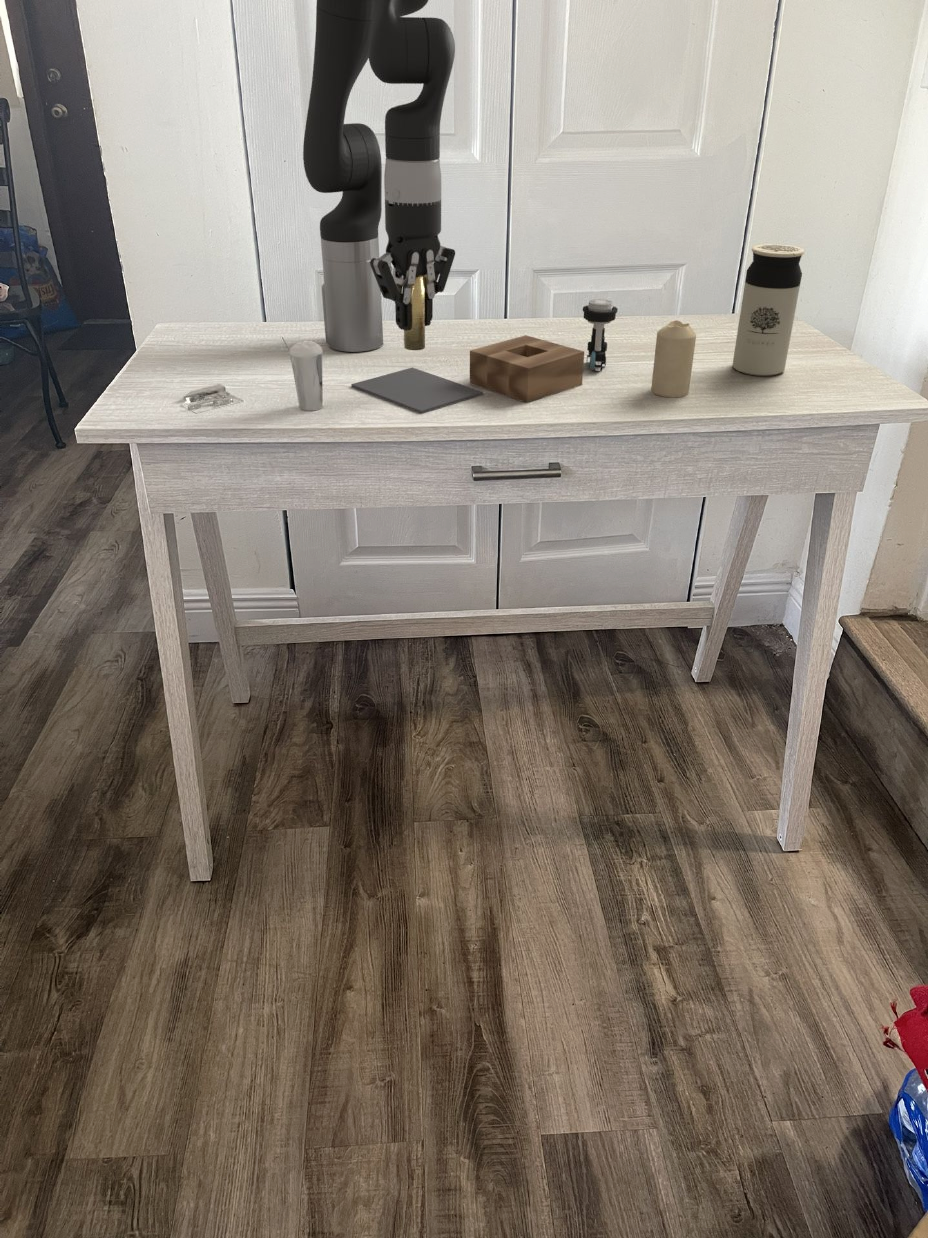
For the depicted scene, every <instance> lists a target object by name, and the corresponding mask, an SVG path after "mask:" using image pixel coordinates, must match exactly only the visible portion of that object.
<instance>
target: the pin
mask: <svg viewBox="0 0 928 1238" xmlns="http://www.w3.org/2000/svg"><path fill="white" fill-rule="evenodd" d="M402 277H403V278H404V279H406V277H405V276H402ZM409 303H410V304H411V330H407V331H405V330H403V348H404V349H405V350H408V351H422V350H424V349H425V348H426V326H425V275H417V276H415V284H414V286H413V287H412V289H411V298H410V302H409Z"/></svg>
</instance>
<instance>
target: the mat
mask: <svg viewBox="0 0 928 1238" xmlns="http://www.w3.org/2000/svg"><path fill="white" fill-rule="evenodd" d="M351 388H354V389H356V390H358V391H362V392H364V393H366V394H369V395H372V396H375V397H377V398H380V399H382V400H384V401H388V402H389V403H393V404H395V405H398V406H401V407H402V408H403V407H404V408H405V409H409V410H411V411H414V412H416V413H419V414H421V415H422V414H424V413H428V412H432V411H434V410H438V409H441V408H444V407H447V406H450V405H454V404H456V403H459V402H463V401H467V400H470V399H474V398H476V397H479V396H482V395H484V391H483V390H479V389H476V388H473V387H471V386H468V385H465V384H462V383H460V382H459V383H458V382H456V381H453V380H450V379H447V378H445V377H442V376H438V375H436V374H433V373H429V372H427V371H424V370H421V369H418V368H415V367H409V368H405V369H402V370H397V371H395V372H391V373H387V374H383V375H380V376H375V377H373V378H369V379H366V380H360V381H358V382H355V383H354V382H353V383H351Z"/></svg>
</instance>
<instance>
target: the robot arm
mask: <svg viewBox="0 0 928 1238" xmlns="http://www.w3.org/2000/svg"><path fill="white" fill-rule="evenodd" d="M428 2H429V0H316V6H315V7H316V9H315V10H316V11H315V13H316V14H315V38H314V54H313V56H314V57H313V67H312V68H313V69H312V75H311V76H312V77H311V78H312V79H311V87H310V94H309V100H308V108H307V113H306V121H305V126H304V127H305V130H304V136H303V146H302V147H303V148H302V150H303V152H302V159H303V167H304V168H303V169H304V173H305V176H306V178H307V179H306V180H307V182H308V184H310V186H311V187H312V189H314V191H316V192H319V193H323V194H331V193H342V195H341V199H340V201H339V203H338V204H337V205H336V206H335V207H334V208H333V209H332V210H331V211H330V212H328V213H326V214H325V215H323V217H321V219H320V222H319V236H320V244H321V245H320V246H321V258H322V260H321V261H322V273H323V284H322V285H321V294H322V295H321V296H322V297H321V298H322V310H323V321H324V322H323V323H324V324H323V325H324V334H325V336H324V337H325V343H328V346H329V347H330V348H331V349H333V350H335V351H339V352H340V351H341V352H349V353H350V352H351V353H352V352H353V353H356V352H357V353H358V352H366V351H373V350H376V349H379V348H381V347H382V346H383V344H384V332H383V330H384V329H383V308H382V304H383V303H382V297H383V298H384V299H387V300H390V301H393V302H394V304H395V306H394V307H395V308H394V309H395V323H396V324H395V325H396V326H398V328H399V329H400V330H402V331H404V330H405V331H407V330H411V304H410V303H409V302H410V298H411V289H412V287H413V286H414V284H415V276H417V275H425V327H428V326H430V325H431V323H432V322H431V321H432V320H433V317H434V316H433V313H434V312H433V309H434V308H433V307H434V306H433V304H434V302H433V301H434V298H435V295H437V294H438V293H443V292H444V290H445V288H446V285H447V281H448V278H449V275H450V272H451V268H452V266H453V263H454V260H455V256H456V250H455V249H454V248H449V247H446V246H442V245H441V242H440V239H439V235H440V233H441V232H442V170H441V163H440V162H441V160H440V157H441V156H440V154H441V153H440V150H441V143H440V142H441V141H440V140H441V136H440V133H441V131H440V130H441V121H442V120H441V119H442V112H443V107H444V101H445V97H446V93H447V88H448V85H449V81H450V77H451V74H452V70H453V65H454V61H455V56H456V55H455V54H456V43H455V38H454V34H453V31H452V30H451V27H450V25H449V24H448V23H447V22H446V21H445V20H444V19H442V18H439V17H418V16H417V17H412V16H411V17H409V16H408V15H412V14H414V13H416V12H418V11H421V10H422V9H423V8H424V7H425V6H426V5H427V4H428ZM368 61H369V65H370V69H371V70H372V72H373V74H374V76H375V77H377V79H378V80H380V81H381V82H382V83H384V84H393V85H394V84H395V85H397V84H398V85H402V84H404V85H405V84H408V85H410V84H413V85H416V84H417V85H419V84H420V85H421V84H423V85H422V89H421V91H420V94H419V95H418V97H416V99H414V100H413V101H411V102H407V103H403V104H399V105H396V106H392V107H391V108H389V109H388V110H387V111H386V114H385V117H384V139H385V140H384V141H385V143H384V144H385V164H384V165H385V166H384V175H383V174H382V173H383V171H382V170H383V169H382V168H383V166H382V154H381V149H380V145H379V141H378V139H377V136H376V134H375V132H374V131H373V130H372V128H371V127H369V126H368V125H366V124H364V123H361V122H359V123H357V122H356V123H353V122H352V123H345V117H346V110H347V106H348V101H349V98H350V94H351V92H352V90H353V87H354V86H355V83H356V81H357V79H358V77H359V75H360V74H361V72H362V71H363V68H364V67H365V65H366V63H367V62H368ZM382 176H384V178H383V177H382ZM382 178H383V179H384V180H383V179H382ZM382 181H384V183H383V184H384V187H383V188H384V224H385V232H386V235H387V238H388V241H387V245H386V248H385V253H384V254H382V255H381V256H380V243H379V241H380V239H379V225H380V222H381V218H382V202H383V201H382V199H383V198H382V196H383V195H382V192H383V191H382V190H383V189H382V185H383V184H382ZM392 266H393V267H392ZM403 276H405V277H406V279H404V278H403Z"/></svg>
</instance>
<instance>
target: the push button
mask: <svg viewBox="0 0 928 1238" xmlns="http://www.w3.org/2000/svg"><path fill="white" fill-rule="evenodd" d="M582 312H583V319H585V321H587V322H588V323H590V324H592V325H593V327H592V329H591V330H592V331H591V338H590V341H588V342H587V349H586V350H587V351H588V353H587V354H586V362H585V363H586V364H585V365H586V366H588V358H589V364H590V370H591V371H597V372H600V371H603V365H604V367H606V365H607V355H606V352H607V351H608V342H606V341H605V339H606V337H605V331H606V328H605V325H608V324H610V323H611V322H613V321H615V320H616V315H617V313H618V307H616V306H614V305H613V301H612V300H610V299H604V298H603V299H602V298H596V299H595V298H594V299H591V300H589V301H588V305H584V306H583V307H582Z"/></svg>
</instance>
